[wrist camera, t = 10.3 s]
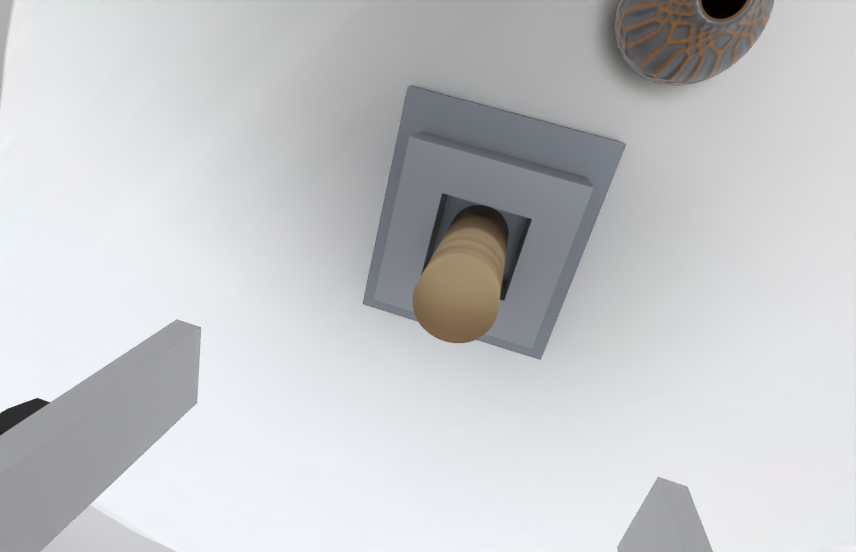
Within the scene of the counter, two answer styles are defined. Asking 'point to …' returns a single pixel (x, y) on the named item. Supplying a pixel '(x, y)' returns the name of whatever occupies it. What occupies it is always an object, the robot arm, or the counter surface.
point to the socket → (494, 187)
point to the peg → (464, 277)
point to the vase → (687, 36)
